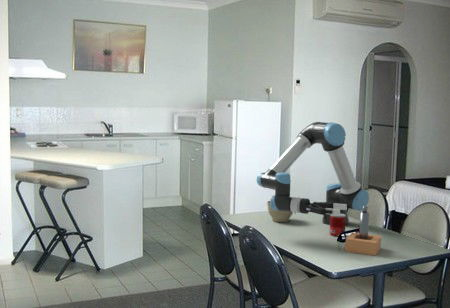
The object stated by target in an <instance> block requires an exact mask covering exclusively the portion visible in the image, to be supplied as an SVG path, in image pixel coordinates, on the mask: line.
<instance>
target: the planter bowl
mask: <svg viewBox="0 0 450 308" xmlns="http://www.w3.org/2000/svg"><path fill="white" fill-rule="evenodd" d="M270 201H271V200H268V201H267V202H266V205H267V211H268V213H269V216H270V217H271V219H272V221H274V222H276V223H285V222H288V221H290V218H292V216H293V214H294V212H285V211H277V210H272V209H271V207H270Z"/></svg>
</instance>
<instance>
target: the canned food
mask: <svg viewBox="0 0 450 308" xmlns="http://www.w3.org/2000/svg"><path fill="white" fill-rule="evenodd" d="M345 224H346V215H345V214H341V213H340V215H330V225H329V235H330V236H332V237H337V236H338V235H339V234H340V233H341V232H345V233H346V225H345Z"/></svg>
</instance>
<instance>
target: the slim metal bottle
mask: <svg viewBox="0 0 450 308" xmlns="http://www.w3.org/2000/svg"><path fill="white" fill-rule="evenodd" d="M359 215H360V217H359V233H360V234H359V239H363V240H368V235H369V225H370V223H369V222H370V221H369V220H370V212H368V205H367V206H363V210H362V211H361V212H360V213H359Z"/></svg>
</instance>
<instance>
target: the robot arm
mask: <svg viewBox="0 0 450 308" xmlns="http://www.w3.org/2000/svg"><path fill="white" fill-rule="evenodd" d="M346 135H347V133H346V130H345V128H344V127H343V126H342V125H341V124H339V123H336V122H324V121H316V122H312V123H310V124H308V125H307V126H306V127H305V128H303V129H302V130H301V131H300V132H299V133H298V134H297V135H296V139H295V140H294V141H293V142H292V143H291V144H290V145H289V147H287V149H286V150H285V151H284V152H283V153H282V154H281V155H280V156H279V157H278V158H277V160H275V161H274V163H273V164H272V165H271V166H270V167H269V168H268V169H267V170H266V172H260V173H259V174H258V175H257V177H256V183H257V185H258V186H260V187H262V188H264V189H268V190H273V191H274V193H275V194H274V195H272V196H271V197H270V200H269V201H270V207H271V209H272V210H277V211H285V212H293V214H304V215H305V214H306V215H307V214H309V213H313V214H317V215H322V223H323V224H326V225H329V226H330V215H340V213H341V214H345V215H346V224H345V226H347V225H349V224H350V219H349V215H348V211H347V209H350V210H353V211H363V206H367V207H368V204H369V200H370V195H369V192H368V191H367V190H366V189H363V187H362V186H361V185H362V184H361V183H360V182H358V181H357V180H356V177H355V175H354V171H353V170H352V169H353V168H352V167H351V165H350V162H349V159H348V157H347V153H346V152H345V149H344V148H345V147H344V145H345V141H346ZM316 144H321V146H322V148H323V151H324V152H326V153H327V154H328V157H329V159H330V161H331V165H332V167H333V169H334V171H335V174H336V177H337V179H338V181H339V183H336V182H335V183H329V184H327V185H326V190H325V191H326V193H325V194H326V198H325V201H313V202H311V200H310V199H309V198H303V197H302V198H301V197H295V196H294V197H293V196H292V197H291V182H292V181H291V174H290V173H289V172H287V171H288V169H290V168H291V166H292V165H293V164H294V163H295V162H296V161H297V160H298V159H299V158H300V156H301V155H303V153H304V152H306V150H307V149H310V148H311V147H312V146H314V145H316Z"/></svg>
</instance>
